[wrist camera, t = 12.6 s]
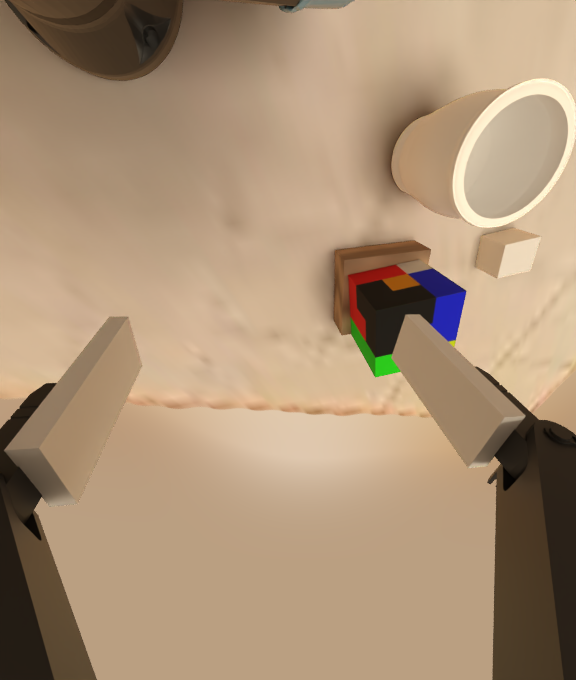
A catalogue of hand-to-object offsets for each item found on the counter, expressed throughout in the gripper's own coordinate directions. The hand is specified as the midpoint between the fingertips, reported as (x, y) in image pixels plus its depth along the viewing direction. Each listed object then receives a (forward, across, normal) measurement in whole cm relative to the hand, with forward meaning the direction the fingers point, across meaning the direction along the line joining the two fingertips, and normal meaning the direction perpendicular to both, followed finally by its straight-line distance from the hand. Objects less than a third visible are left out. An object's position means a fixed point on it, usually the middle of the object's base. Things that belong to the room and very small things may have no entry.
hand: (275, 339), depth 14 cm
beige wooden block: (+29, +37, -3) cm, 47 cm away
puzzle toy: (+24, +18, -10) cm, 32 cm away
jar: (+29, +21, +8) cm, 37 cm away
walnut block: (+29, +18, -9) cm, 36 cm away
